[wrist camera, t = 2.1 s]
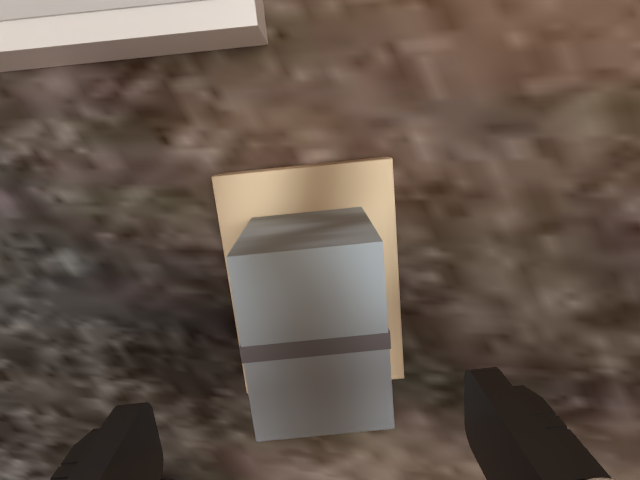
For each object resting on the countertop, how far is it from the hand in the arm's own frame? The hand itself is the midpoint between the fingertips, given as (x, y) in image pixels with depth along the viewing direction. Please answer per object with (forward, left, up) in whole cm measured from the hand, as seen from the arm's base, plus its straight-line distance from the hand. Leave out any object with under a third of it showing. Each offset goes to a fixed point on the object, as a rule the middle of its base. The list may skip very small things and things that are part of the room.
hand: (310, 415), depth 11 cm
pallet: (0, 0, -12) cm, 12 cm away
